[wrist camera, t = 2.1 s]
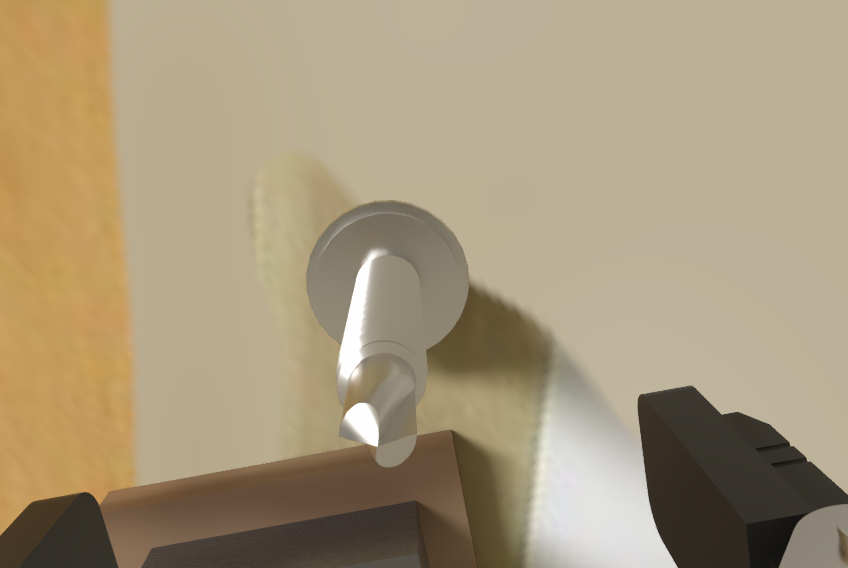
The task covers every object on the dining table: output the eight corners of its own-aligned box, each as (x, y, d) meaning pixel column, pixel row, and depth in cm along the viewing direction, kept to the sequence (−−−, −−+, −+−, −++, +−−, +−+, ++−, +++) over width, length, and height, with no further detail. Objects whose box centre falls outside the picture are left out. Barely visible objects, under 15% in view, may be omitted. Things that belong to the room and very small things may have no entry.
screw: (308, 195, 25) (462, 189, 25) (319, 341, 26) (465, 335, 26) (212, 310, 12) (525, 297, 12) (240, 584, 13) (526, 571, 13)
